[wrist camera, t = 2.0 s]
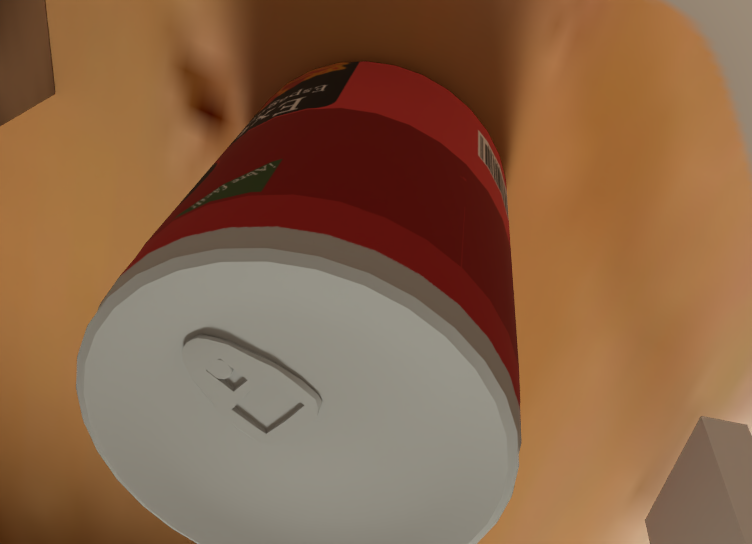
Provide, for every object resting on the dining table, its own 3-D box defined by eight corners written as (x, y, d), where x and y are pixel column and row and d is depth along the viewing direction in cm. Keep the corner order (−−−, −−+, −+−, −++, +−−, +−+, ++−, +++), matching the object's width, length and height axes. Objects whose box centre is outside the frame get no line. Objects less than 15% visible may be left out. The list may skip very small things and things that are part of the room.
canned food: (314, -3, 19) (147, 150, 10) (563, 146, 20) (629, 411, 11) (212, 214, 23) (23, 473, 13) (425, 327, 24) (386, 637, 15)
